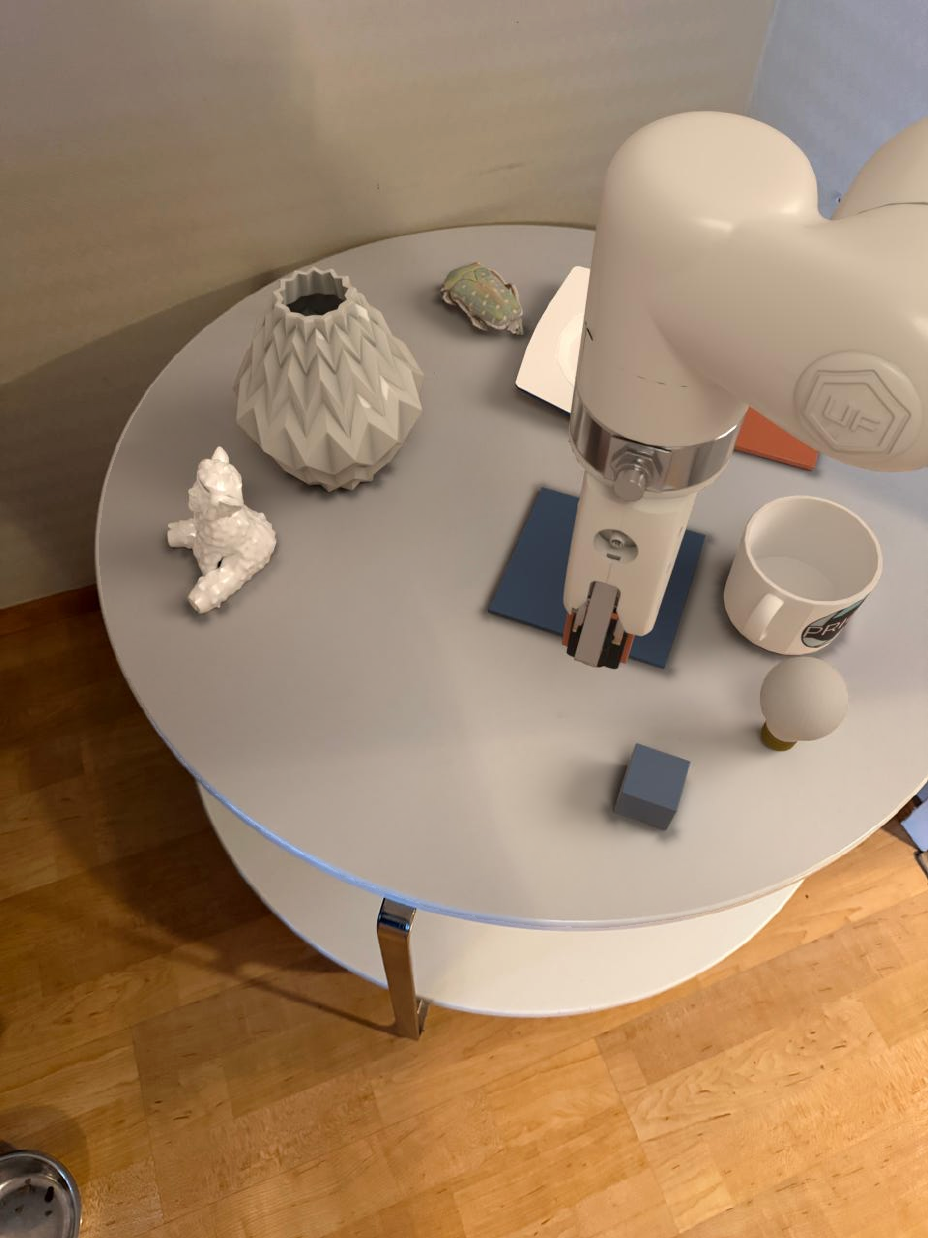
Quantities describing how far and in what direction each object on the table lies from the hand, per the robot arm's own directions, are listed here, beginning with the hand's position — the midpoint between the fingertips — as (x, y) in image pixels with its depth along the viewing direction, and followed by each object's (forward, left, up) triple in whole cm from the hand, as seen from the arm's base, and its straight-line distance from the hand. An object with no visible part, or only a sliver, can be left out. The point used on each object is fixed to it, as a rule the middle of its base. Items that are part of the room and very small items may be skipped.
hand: (603, 625), depth 58 cm
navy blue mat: (+3, -16, -17) cm, 23 cm away
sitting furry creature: (+33, -6, -17) cm, 37 cm away
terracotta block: (0, 0, 0) cm, 0 cm away
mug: (-12, -17, -17) cm, 27 cm away
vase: (+29, -20, -17) cm, 39 cm away
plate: (+7, -41, -17) cm, 45 cm away
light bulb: (-14, -6, -17) cm, 23 cm away
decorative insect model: (+24, -44, -17) cm, 53 cm away
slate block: (-6, +2, -17) cm, 18 cm away
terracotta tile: (-8, -38, -17) cm, 42 cm away
